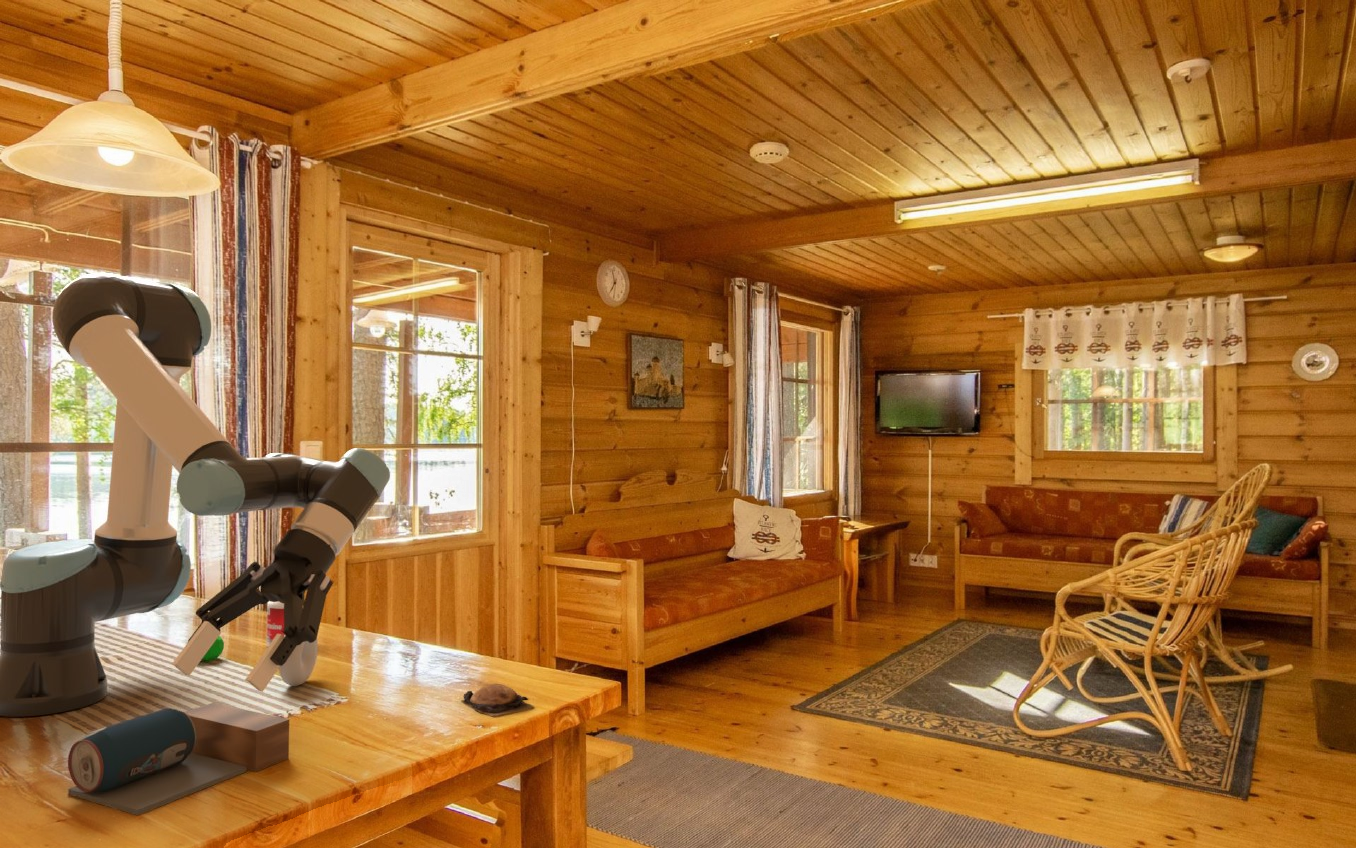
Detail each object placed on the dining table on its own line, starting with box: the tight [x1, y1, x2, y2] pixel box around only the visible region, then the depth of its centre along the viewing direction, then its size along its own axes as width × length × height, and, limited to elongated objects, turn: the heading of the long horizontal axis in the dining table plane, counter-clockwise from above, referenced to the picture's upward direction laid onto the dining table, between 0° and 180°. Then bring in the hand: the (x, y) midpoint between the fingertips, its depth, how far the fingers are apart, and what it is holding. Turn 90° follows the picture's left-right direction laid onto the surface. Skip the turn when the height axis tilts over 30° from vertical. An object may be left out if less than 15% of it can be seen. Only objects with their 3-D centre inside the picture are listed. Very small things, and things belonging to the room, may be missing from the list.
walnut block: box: [183, 702, 290, 773], centre depth 118 cm, size 14×5×5 cm, turn 65°
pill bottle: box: [266, 601, 285, 647], centre depth 173 cm, size 6×6×11 cm
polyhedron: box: [200, 635, 225, 662], centre depth 162 cm, size 5×5×5 cm
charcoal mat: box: [67, 753, 247, 816], centre depth 109 cm, size 12×14×1 cm
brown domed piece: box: [460, 683, 535, 718], centre depth 141 cm, size 11×8×4 cm
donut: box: [278, 635, 319, 687], centre depth 149 cm, size 10×4×10 cm, turn 0°
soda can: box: [67, 707, 196, 792], centre depth 109 cm, size 7×7×12 cm
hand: (216, 678), depth 115 cm, fingers open, 13 cm apart
